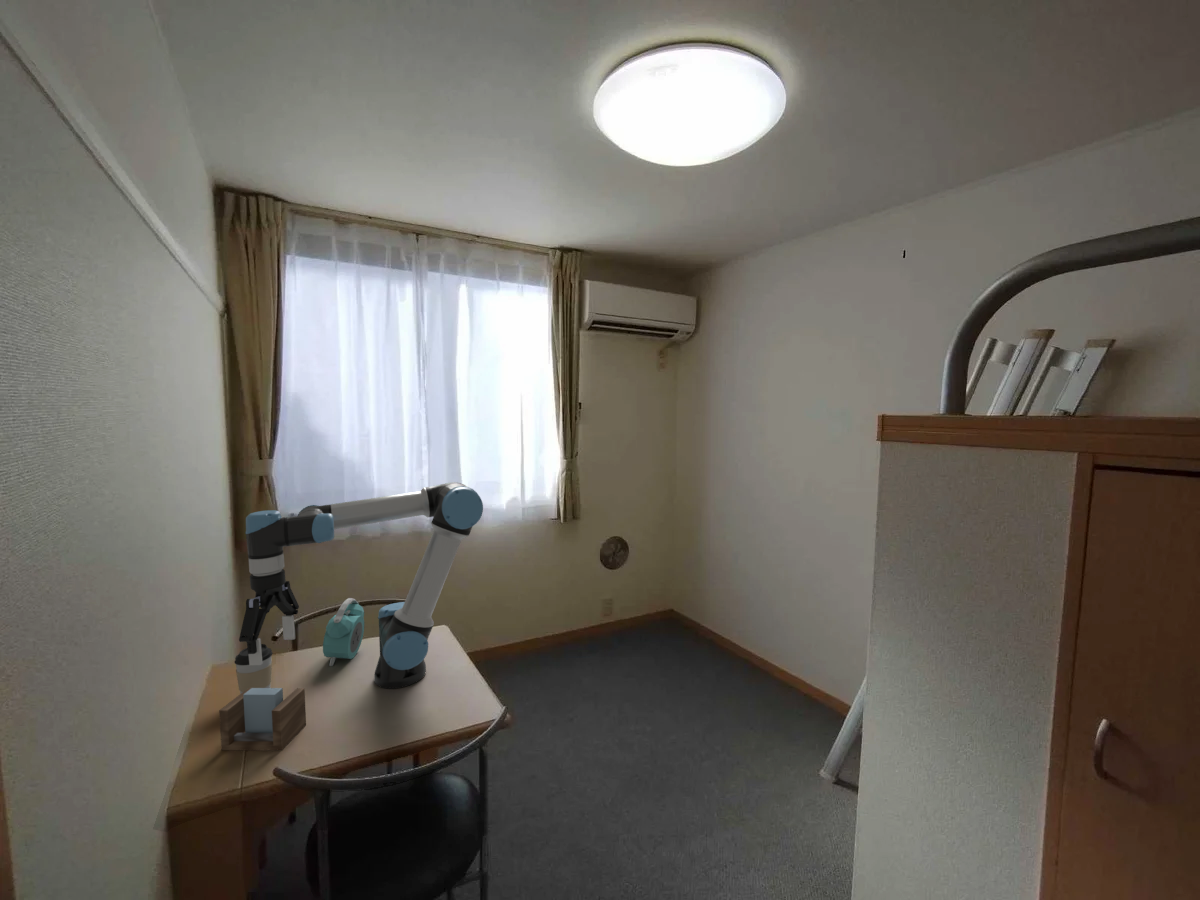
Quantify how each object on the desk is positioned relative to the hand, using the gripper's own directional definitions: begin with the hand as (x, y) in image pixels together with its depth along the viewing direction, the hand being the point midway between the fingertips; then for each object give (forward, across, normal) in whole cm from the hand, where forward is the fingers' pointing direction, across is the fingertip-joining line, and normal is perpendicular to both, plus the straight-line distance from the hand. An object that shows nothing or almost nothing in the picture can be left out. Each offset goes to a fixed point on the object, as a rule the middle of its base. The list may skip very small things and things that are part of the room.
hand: (273, 651), depth 129 cm
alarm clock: (+22, -39, -2) cm, 44 cm away
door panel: (+20, +3, -2) cm, 20 cm away
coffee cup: (+21, -14, -16) cm, 30 cm away
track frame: (+21, +3, -2) cm, 21 cm away
